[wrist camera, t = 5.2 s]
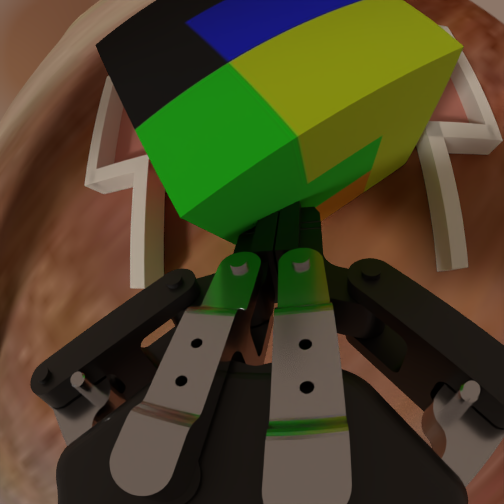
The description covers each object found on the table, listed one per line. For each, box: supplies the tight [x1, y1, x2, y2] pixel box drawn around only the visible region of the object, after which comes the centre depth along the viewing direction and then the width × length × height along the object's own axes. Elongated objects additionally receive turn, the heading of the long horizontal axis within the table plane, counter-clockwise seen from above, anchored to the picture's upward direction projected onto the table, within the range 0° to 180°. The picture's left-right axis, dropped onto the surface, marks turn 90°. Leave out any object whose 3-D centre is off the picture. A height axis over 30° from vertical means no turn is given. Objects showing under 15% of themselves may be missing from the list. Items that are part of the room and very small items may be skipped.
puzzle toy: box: [96, 0, 464, 245], centre depth 12 cm, size 10×10×10 cm
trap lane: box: [85, 25, 503, 289], centre depth 17 cm, size 25×27×2 cm
